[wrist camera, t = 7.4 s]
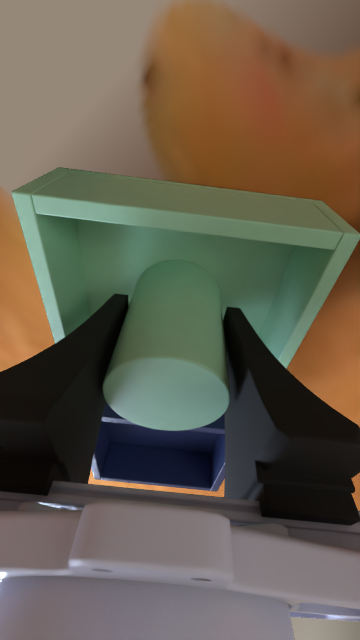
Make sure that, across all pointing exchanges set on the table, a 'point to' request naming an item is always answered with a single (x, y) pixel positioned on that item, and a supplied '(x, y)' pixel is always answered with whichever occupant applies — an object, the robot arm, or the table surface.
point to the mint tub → (182, 247)
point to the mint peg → (171, 351)
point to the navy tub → (159, 454)
